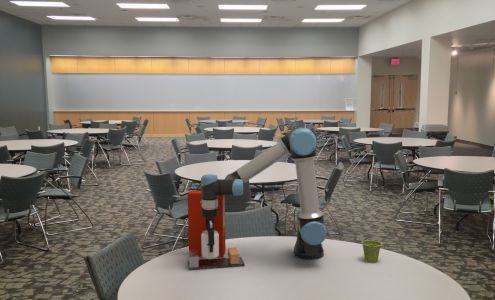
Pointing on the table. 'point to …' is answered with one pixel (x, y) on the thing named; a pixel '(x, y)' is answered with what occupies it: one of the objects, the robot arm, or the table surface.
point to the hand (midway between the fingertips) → (210, 255)
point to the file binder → (198, 222)
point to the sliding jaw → (233, 255)
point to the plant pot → (371, 250)
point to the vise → (210, 262)
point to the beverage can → (205, 241)
